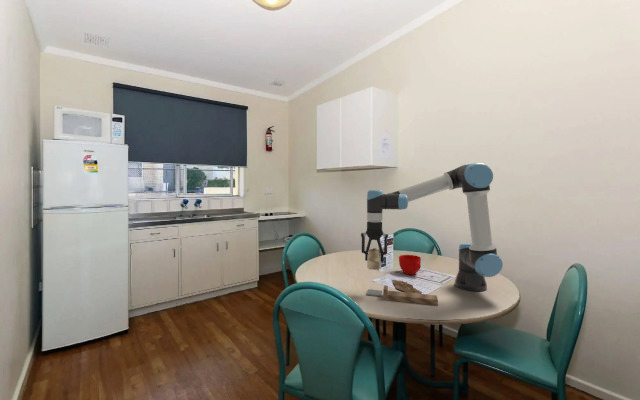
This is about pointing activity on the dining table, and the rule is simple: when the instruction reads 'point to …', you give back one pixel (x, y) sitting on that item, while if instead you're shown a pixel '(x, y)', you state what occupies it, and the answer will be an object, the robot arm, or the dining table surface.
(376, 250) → the cream tall block
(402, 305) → the dining table surface
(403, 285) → the wooden fragment
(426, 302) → the plank
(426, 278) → the dining table surface
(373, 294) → the mat
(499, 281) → the dining table surface
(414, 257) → the ceramic cup
